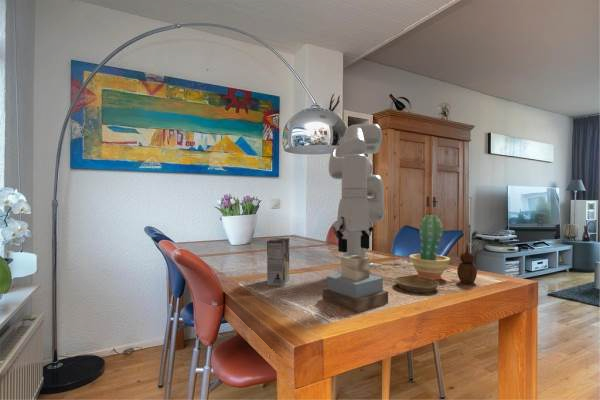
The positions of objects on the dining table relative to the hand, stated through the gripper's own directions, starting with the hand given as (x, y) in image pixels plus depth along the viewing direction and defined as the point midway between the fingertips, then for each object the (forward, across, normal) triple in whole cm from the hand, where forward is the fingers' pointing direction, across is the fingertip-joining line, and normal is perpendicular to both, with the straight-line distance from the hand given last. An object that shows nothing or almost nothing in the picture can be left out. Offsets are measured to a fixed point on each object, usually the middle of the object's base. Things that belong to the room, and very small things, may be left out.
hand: (354, 249), depth 95 cm
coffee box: (+16, +9, -30) cm, 35 cm away
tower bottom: (+16, +1, +1) cm, 16 cm away
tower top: (+12, 0, +1) cm, 12 cm away
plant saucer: (+16, -27, +4) cm, 32 cm away
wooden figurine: (+16, -49, +11) cm, 53 cm away
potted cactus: (+17, -45, -2) cm, 48 cm away
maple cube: (+8, 0, +1) cm, 8 cm away
